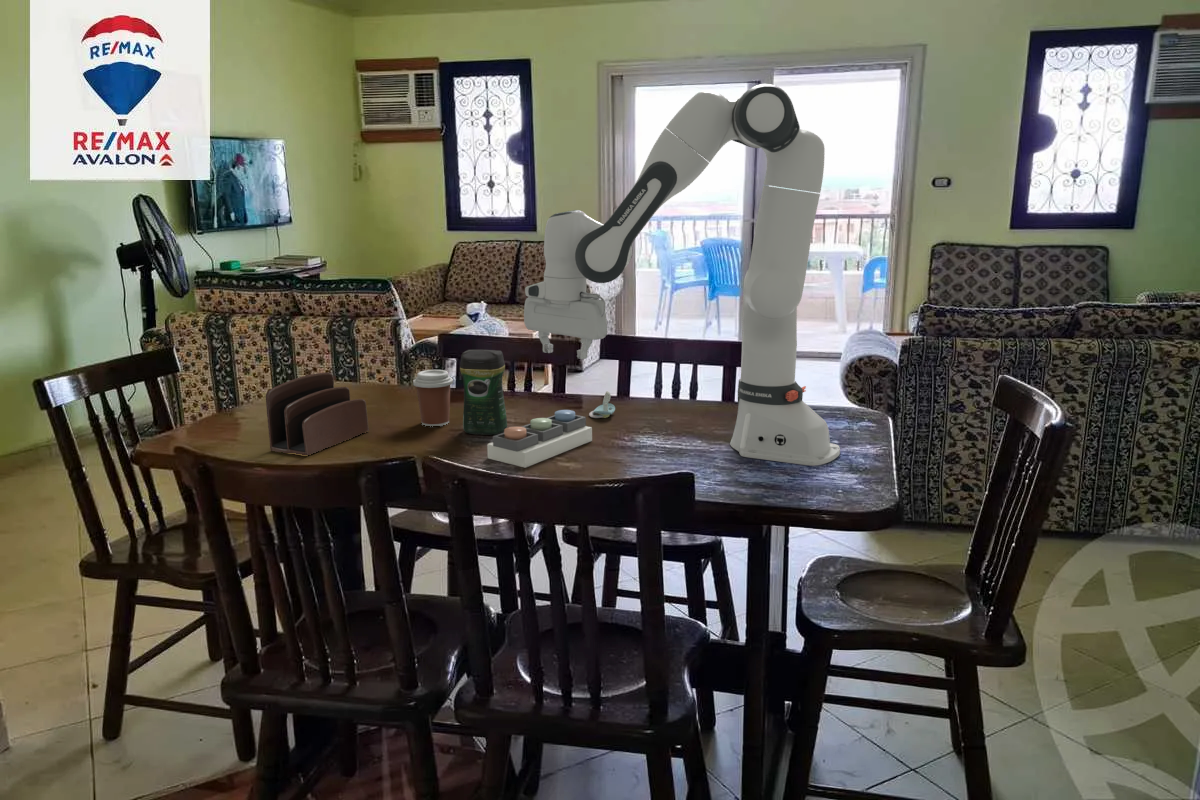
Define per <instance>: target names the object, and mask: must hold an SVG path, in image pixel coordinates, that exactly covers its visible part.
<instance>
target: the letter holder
mask: <svg viewBox="0 0 1200 800" xmlns="http://www.w3.org/2000/svg"><path fill="white" fill-rule="evenodd" d="M334 383H335V382H334V376H333V373H331V372H319V373H312V374H308V375H307V374H306V375H303V376H299V377H297V378H294V379H291V380H288V381H286V382H283V383H280V384H279V385H276V386H275V387H272V388H271V389H269V390H267V392H266V394H265V405H266V417H267V427H268V437H269V450H270V452H271V451H275V452H274V453H277V452H283V453H296V454H302V455H310V454H313V453H316V452H318V451H321V450H323V449H325V448H328V447H330V448H332V447H331V446H333V445H335V444H338V443H340V442H343V441H345V440H348V439H350V438H353V437H355V436H357V437H359V436H358V435H360V434H362V433H365V432H367V431H369V432H370V429H369V428H370V427H369V419H368V409H367V402H366V400H365V399H363V398H356V399H351V395H350V394H351V393H350V388H349V387H347V386H338V387H336V386H335V384H334ZM367 433H368V432H367ZM365 434H366V433H365ZM362 435H363V434H362ZM360 436H361V435H360ZM355 438H356V437H355ZM353 439H354V438H353ZM350 440H351V439H350ZM348 441H349V440H348ZM345 442H346V441H345ZM343 443H344V442H343ZM340 444H341V443H340ZM338 445H339V444H338ZM335 446H336V445H335ZM333 447H334V446H333ZM328 449H329V448H328ZM325 450H326V449H325ZM323 451H324V450H323ZM321 452H322V451H321ZM283 453H282V454H283ZM318 453H319V452H318ZM316 454H317V453H316ZM313 455H314V454H313Z"/></svg>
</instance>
